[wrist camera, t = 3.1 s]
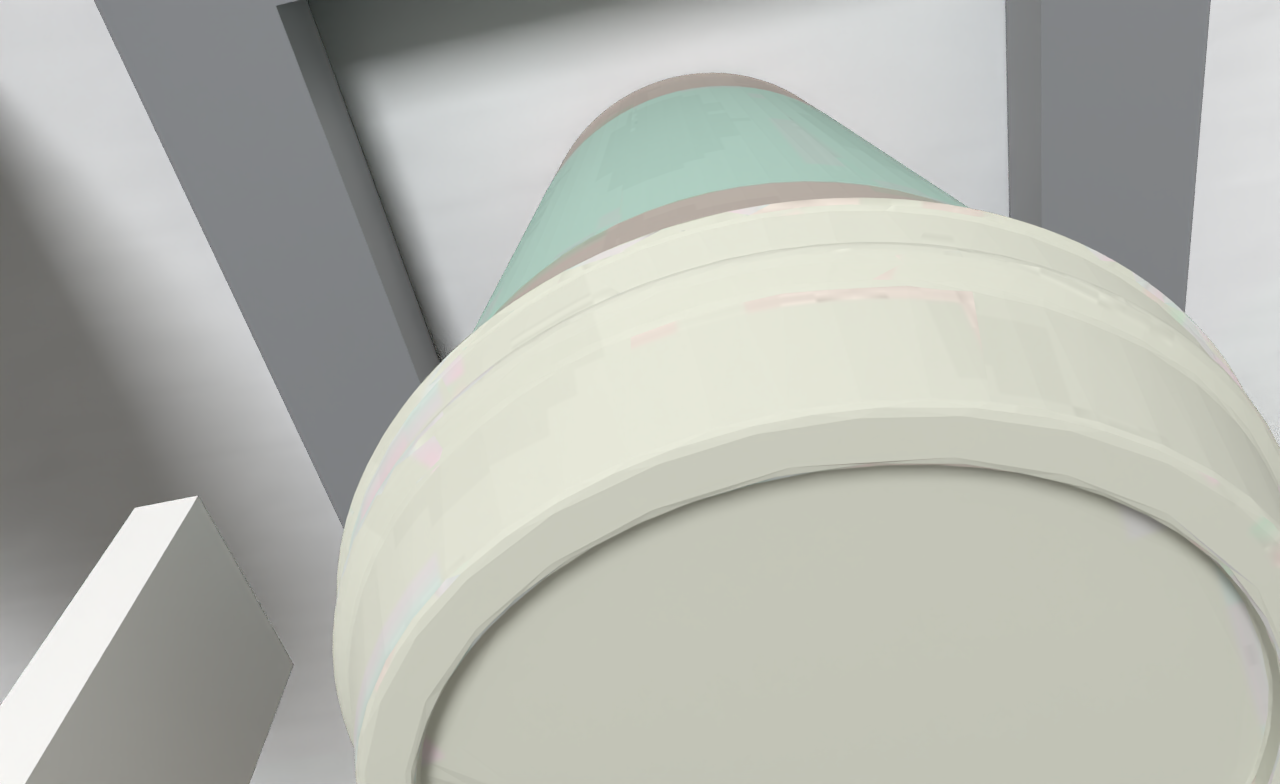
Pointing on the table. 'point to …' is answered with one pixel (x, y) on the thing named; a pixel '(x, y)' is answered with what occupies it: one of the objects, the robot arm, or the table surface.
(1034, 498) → the coffee cup
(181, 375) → the table surface
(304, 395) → the socket
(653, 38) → the table surface
